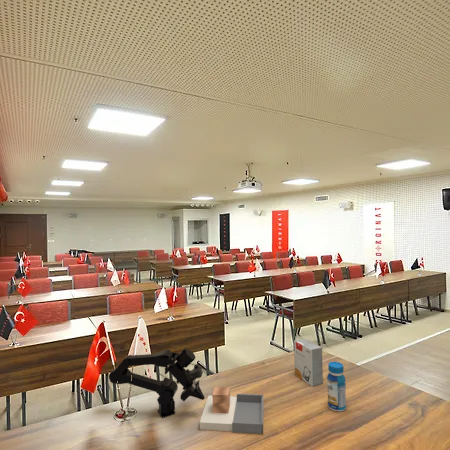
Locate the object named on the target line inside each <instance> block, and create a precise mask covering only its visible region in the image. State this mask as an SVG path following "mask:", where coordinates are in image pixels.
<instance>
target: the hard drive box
mask: <svg viewBox="0 0 450 450" xmlns="http://www.w3.org/2000/svg"><path fill="white" fill-rule="evenodd" d="M293 349H294V350H293V351H294V352H293V354H294V359H293V360H294V376H296V377H297V378H298V379H300V380H302V381H303V382H305V383H306V384H308V385H310V386H311V387H315V386H320V385H323V384H324V380H323V379H324V378H323V377H324V376H323V375H324V374H323V371H324V370H323V347H322V346H320V345H318V344H316V343H314V342H312V341H310V340H309V339H305V338H300V339H296V340H293Z"/></svg>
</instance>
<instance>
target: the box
mask: <svg viewBox="0 0 450 450" xmlns="http://www.w3.org/2000/svg"><path fill="white" fill-rule="evenodd" d="M236 397H237V405H236V411H235V418H234V422H232V431H231V432H232V433H237V434H254V435H256V434H257V435H264V407H265V406H264V394H257V393H255V394H253V393H236Z"/></svg>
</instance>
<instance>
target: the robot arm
mask: <svg viewBox="0 0 450 450" xmlns="http://www.w3.org/2000/svg"><path fill="white" fill-rule="evenodd" d="M195 360H196V355H195V353H194V352H193V350H191V349H187V347H184V348H183V350H182V351H181V352H179V353H178V352H173V351H171V350H170V349H164V350H161V351H158V352H156V353H150V354H133V355H131V354H129V355H127V356H125V357H124V358H123V360H122V361H121V362H120V364H118V365H117V366H116V367H115V368H113V370H111V372H109V375H108V379H109V382H110V383H112V384H113V385H114V384H115V385H125V384H129V385H132V386H135V387H138V388H141V389H145V390H149V391H151V392H155V393H156V394H157V395H158V398H157V399H156V401H157V404H158V409H157V412H158V414H159V415H160V417H161V418H166V417H169V416H171V415H175V414H176V411H175V410H176V404H175V403H176V402H175V399H174V397H175V395H176V393H177V392H178V388H179V386H178V384H180V385H181V386H182V390H183V391H182V392H181V394H180V397H179V398H180V400H181V401H182V402H183V403H184V402H185V401H187V399H188V398H190V397H192V398H196V399H199V400H202V401H203V400H205V395H204V393H203V391H202V389H201V387H200V380H196V379H200V378H201V377H202V376H203V374H204V372H203V370H202V369H203V367H202V366H201V365H199V364H198V363H196V364H194V365H193V366H194V367H193V368H192V370H190V369H188V367H189V365H191V363H193V362H194V361H195ZM149 365H151V366H152V365H153V366H156V367H160V368H164V375H167V374H168V373H170V374H171V375H172V376H173V378H174V379H176V381H175V380H174V379H171V378H168V377H164V378H163V379H162V380H158V379H154V378H151V377H147V376H146V375H145V376H144V375H141V374H138V373H135V372H132V371H131V370H130V369H129V367H134V366H149ZM186 368H187V369H186ZM131 375H132V381H131ZM117 381H118V383H117Z"/></svg>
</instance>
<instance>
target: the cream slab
mask: <svg viewBox="0 0 450 450" xmlns="http://www.w3.org/2000/svg"><path fill="white" fill-rule="evenodd" d="M212 395H213V394H212ZM212 395H211V394H210V395H208V396H207V399H206V401H205V405H204V408H203V411H202V414H201V417H200V420H199V430H201V431H202V430H203V431H205V430H206V431H219V432H221V431H224V432H232V422H234V418H235V411H236V405H237V395H236V396H233V395H230V408H229V413H213V397H212Z"/></svg>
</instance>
